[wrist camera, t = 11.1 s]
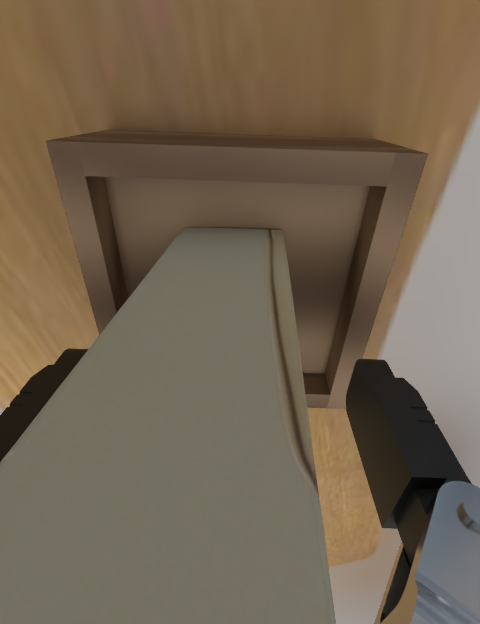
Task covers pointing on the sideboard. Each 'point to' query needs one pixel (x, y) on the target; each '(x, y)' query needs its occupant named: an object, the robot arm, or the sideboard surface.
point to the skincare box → (175, 458)
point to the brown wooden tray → (247, 222)
